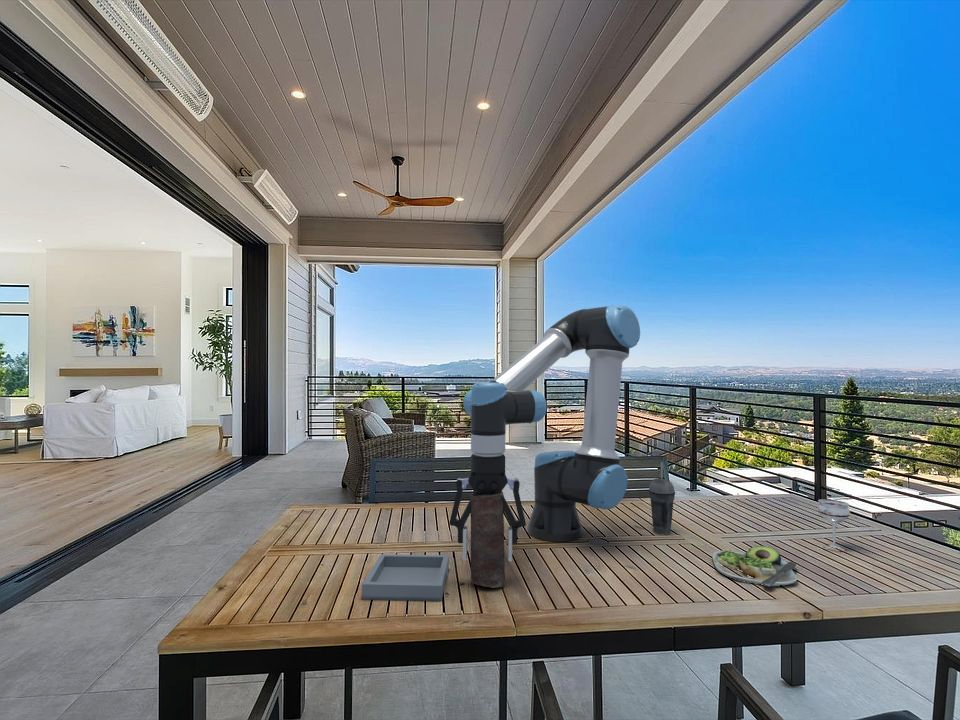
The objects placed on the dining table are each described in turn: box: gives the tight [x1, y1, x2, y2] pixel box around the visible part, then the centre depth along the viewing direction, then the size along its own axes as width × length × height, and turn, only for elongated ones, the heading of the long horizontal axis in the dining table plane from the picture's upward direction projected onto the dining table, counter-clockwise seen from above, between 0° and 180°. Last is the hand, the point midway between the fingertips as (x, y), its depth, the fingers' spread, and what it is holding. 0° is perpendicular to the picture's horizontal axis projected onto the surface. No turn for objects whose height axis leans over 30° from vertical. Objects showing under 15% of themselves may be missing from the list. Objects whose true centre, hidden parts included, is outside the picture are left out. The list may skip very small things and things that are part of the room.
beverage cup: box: [648, 461, 676, 536], centre depth 137 cm, size 7×7×20 cm
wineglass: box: [817, 498, 851, 548], centre depth 125 cm, size 7×7×12 cm
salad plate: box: [711, 545, 798, 587], centre depth 109 cm, size 19×18×5 cm
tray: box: [361, 553, 450, 602], centre depth 103 cm, size 16×16×3 cm
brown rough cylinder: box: [470, 490, 506, 589], centre depth 103 cm, size 8×7×20 cm
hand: (487, 558), depth 102 cm, fingers open, 9 cm apart
